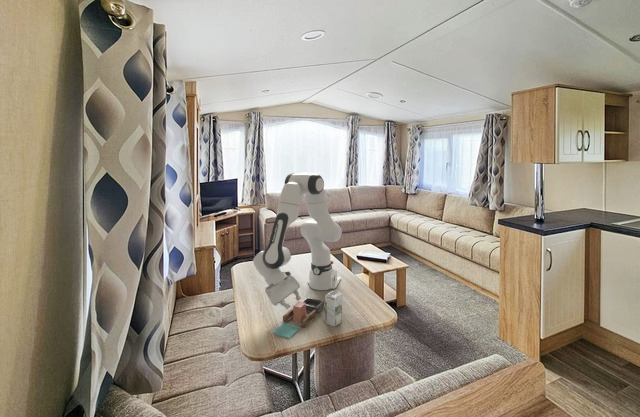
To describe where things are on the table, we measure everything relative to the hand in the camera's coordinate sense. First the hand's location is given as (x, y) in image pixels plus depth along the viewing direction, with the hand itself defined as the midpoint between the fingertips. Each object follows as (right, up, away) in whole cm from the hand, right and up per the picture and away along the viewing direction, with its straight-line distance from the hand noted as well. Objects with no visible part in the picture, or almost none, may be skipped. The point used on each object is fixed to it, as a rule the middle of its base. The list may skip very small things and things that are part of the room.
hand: (294, 303), depth 148 cm
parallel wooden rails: (+3, -7, 0) cm, 8 cm away
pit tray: (+8, -5, +11) cm, 14 cm away
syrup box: (+19, -8, -4) cm, 21 cm away
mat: (-3, -9, -10) cm, 14 cm away
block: (+3, -7, 0) cm, 8 cm away
